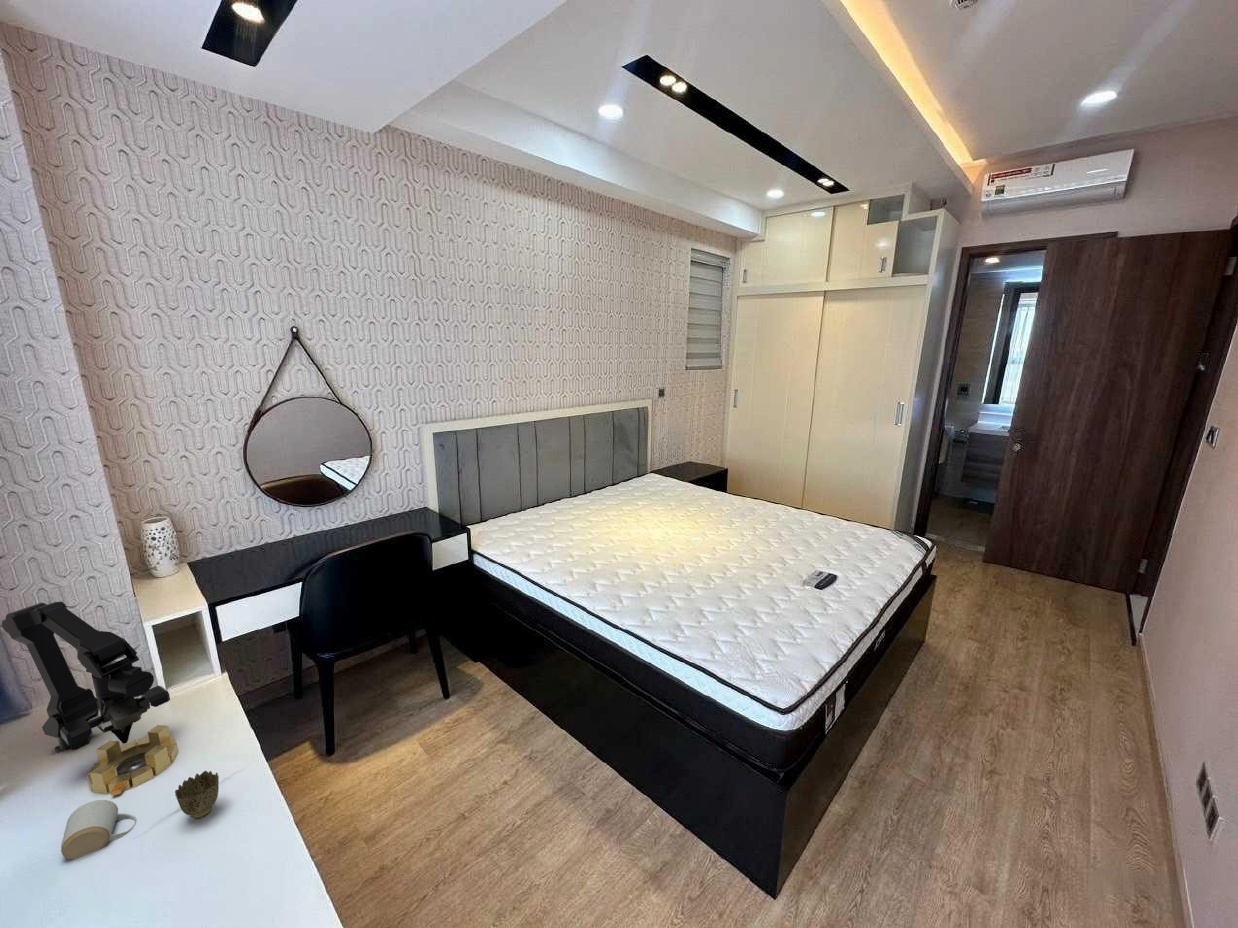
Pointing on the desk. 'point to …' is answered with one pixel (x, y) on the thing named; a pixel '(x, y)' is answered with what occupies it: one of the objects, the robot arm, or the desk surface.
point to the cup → (198, 794)
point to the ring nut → (112, 754)
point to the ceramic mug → (91, 828)
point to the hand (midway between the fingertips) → (124, 742)
